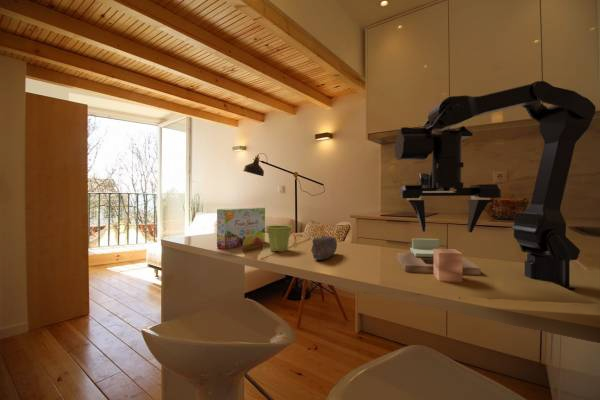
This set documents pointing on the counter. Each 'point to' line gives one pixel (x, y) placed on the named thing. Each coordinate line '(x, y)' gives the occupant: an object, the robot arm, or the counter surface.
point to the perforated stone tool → (323, 247)
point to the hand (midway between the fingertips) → (446, 231)
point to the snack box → (240, 227)
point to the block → (448, 265)
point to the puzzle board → (431, 264)
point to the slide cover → (424, 247)
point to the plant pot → (278, 237)
